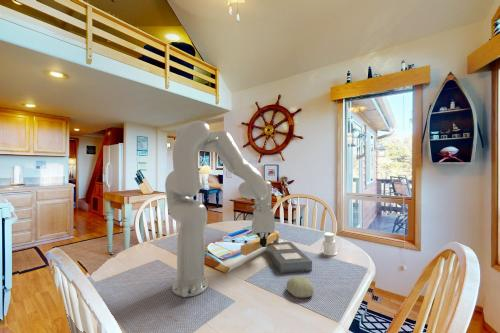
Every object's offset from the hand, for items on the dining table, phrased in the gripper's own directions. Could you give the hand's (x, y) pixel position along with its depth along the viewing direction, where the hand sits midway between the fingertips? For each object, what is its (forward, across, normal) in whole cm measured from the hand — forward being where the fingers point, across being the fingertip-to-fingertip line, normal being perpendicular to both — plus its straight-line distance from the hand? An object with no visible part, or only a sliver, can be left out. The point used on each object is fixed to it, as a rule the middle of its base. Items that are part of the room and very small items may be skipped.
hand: (263, 246), depth 104 cm
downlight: (+8, +36, +3) cm, 37 cm away
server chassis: (+7, +11, +1) cm, 13 cm away
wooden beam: (+2, +1, +6) cm, 6 cm away
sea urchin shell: (+7, +6, -28) cm, 29 cm away
